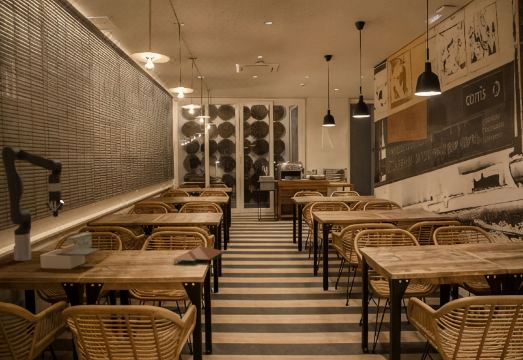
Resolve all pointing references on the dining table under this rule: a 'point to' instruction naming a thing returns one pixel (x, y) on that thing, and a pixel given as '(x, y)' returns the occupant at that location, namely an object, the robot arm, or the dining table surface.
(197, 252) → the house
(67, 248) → the mailer lid
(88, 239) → the snack box
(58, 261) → the box
